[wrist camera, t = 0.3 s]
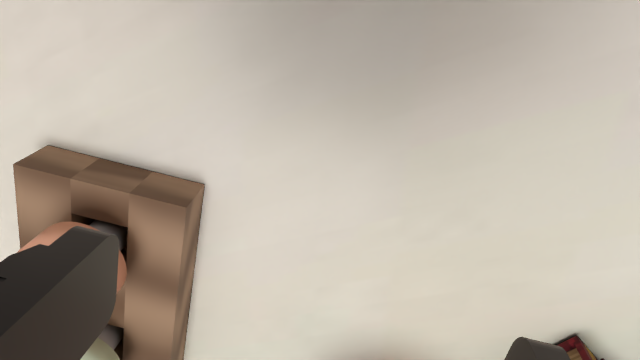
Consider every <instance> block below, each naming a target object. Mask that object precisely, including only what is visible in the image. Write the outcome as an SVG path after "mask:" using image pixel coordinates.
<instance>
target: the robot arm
mask: <svg viewBox="0 0 640 360" xmlns="http://www.w3.org/2000/svg"><path fill="white" fill-rule="evenodd" d="M118 257H119V240H118V237H117V236H116V235H113V234H109V233H105V232H101V231H97V230H93V229H89V228H85V227H81V226H75V227H72V228H71V229H69V230H68V231H67V232H66V233H64V234H63V235H62V236H61V237H59V238H58V239H57V240H55V241H54V242H53V243H52V244H50V245H49V246H46V245H42V244H38V245H36V246H33V247H31V248H28V249H25V250H23V251H20V252H18V253H15V254H13V255H10V256H8V257H7V258H6V259H4V260H3V261H2V262H0V360H80V359H81V358H82V357H83V355H84V354H85V353H86V352H87V350H88V349H89V348H90V347H91V345H92V344H93V343H94V341H95V340H96V339H97V338H98V336H99V335H100V334H101V333H102V331H103V330H104V329H105V327H106V325H107V324H108V322H109V320H110V317H111V315H112V313H113V310H114V306H115V302H116V292H117V274H118ZM505 360H571V359H570V358H569V356H568V354H567V352H566V351H565V350H564V349H563V348H562V347H560V346H556V345H552V344H548V343H544V342H540V341H536V340H532V339H528V338H524V337H519V338H517V339H516V340H515V341H514V342H513V344H512V346H511V348H510V350H509V352H508V354H507V356H506V358H505Z"/></svg>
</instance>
